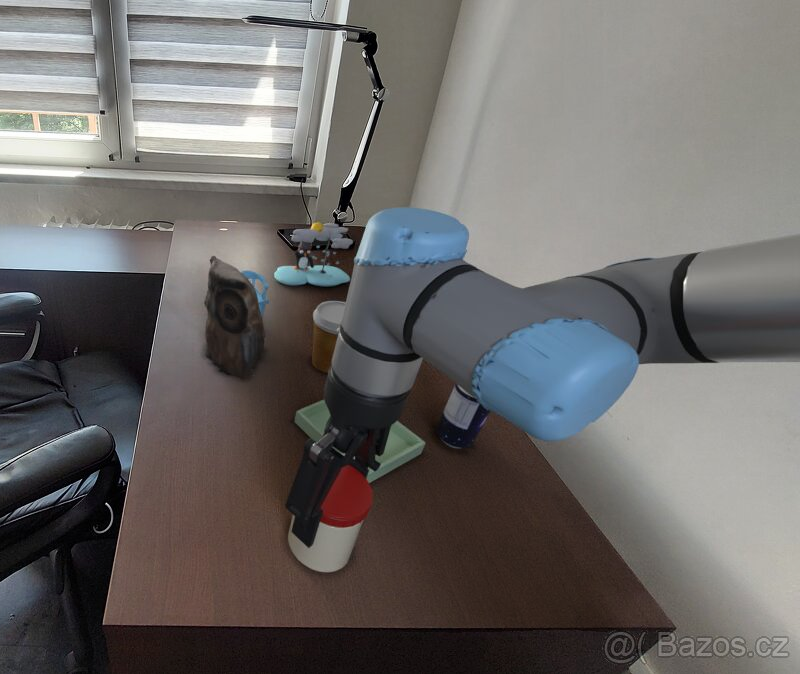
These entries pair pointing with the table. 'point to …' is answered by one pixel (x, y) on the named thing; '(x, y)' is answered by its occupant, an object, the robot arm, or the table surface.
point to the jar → (326, 547)
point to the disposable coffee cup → (326, 333)
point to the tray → (396, 453)
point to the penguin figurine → (314, 273)
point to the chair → (261, 297)
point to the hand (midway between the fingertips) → (325, 517)
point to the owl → (232, 321)
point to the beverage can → (461, 419)
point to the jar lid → (347, 499)
